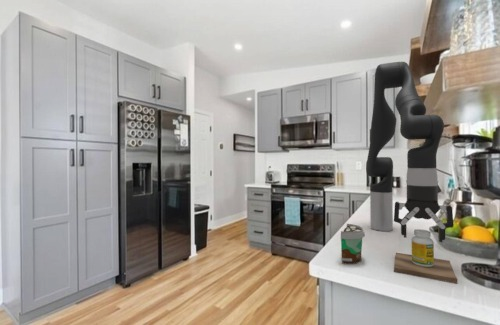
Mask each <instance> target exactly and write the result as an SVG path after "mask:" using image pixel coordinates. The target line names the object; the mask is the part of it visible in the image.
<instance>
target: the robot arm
mask: <svg viewBox="0 0 500 325" xmlns="http://www.w3.org/2000/svg"><path fill="white" fill-rule="evenodd" d="M373 82H374V90H373V92H374V93H373V107H372V109H373V110H372V115H371V116H372V117H371V124H370V125H371V126H370V137H369V138H370V139H369V148H368V154H367V160H366V166H365V167H366V168H365V170H366V175H367V176H369V177H372V178H383V179H382V180H381V181H379V182H377V183H373V184H371V185H370V186H369V194H370V195H369V200H370V202H369V204H370V207H369V208H370V213H369V215H370V228H371V230H375V231H380V232H391V231H393V230H394V228H393V227H394V224H393V223H394V222H395V223H398V224H400V234H401V236H403V238H407V223H408V222H409V221H411V219H413V218H415V219H419V220H420V219H424V220H430V219H432V220H433V221H434V223H435V224H436V225H437V226H438V242H439V243H443V241H445V240H446V229H450V228H451V229H452V228H454V215H453V214H454V212H453V207H452V206H451V205H450V204H446V205H442V204H441V205H440V204H439V201H438V200H439V198H438V197H439V192H438V190H439V188H438V187H439V179H438V178H439V176H438V172H437V154H438V148H439V145H440V141H441V139H442V136H443V133H444V130H445V123H444V122H445V121H444V119H443V118H442V117H441V116H440V115H437V114H426V113H427V107H426V105H425V102H424V101H423V100H422V98H421V96H420V95H419V93H418V91H417V88H416V84H415V80H414V76H413V72H412V70H411V68H410V65H409V64H408V63H407V62H406V61H394V62H387V63H381V64H378V65H377V66H376V68H375V72H374V81H373ZM395 88H396V89H397V88H400V90H399V91H398V93H396V94H397V95H396V97H395V99H394V105H395V108H396V110H397V112H398V114H399V118H400V125H399V126H400V127H399V130H400V131H399V133H400V135H401V136H402V137H403V139H406V140H411V141H413V140H415V141H416V140H424V143H423V144H422V145H421V146H417V147H412V148H409V149H408V151H407V154H406V155H407V156H406V157H407V167H406V168H407V170H406V179H405V182H406V202H400V201H395V202H393V184H394V183H393V180H394V179H393V177H394V161H393V159H392V158H391V157H389V156H379V157H378V155H379V154H380V152H381V150H382V149H383V148H384V147H386V145H387V144H388V143H389V142H390V141H391V140H392V138H393V137H394V135H395V133H396V127H397V126H396V125H397V117H396V114H395V112H394V111H393V110H392V108H391V106H390V105H389V103H388V101H387V99H386V95H385V90H386V89H395ZM393 203H394V207H393ZM393 208H394V210H393ZM403 208H405V209H406V210H407V211H408V212H407V213H406V214H405V215H404V217H403V218H400V211H402V210H403ZM440 210H442V212H443V213H444V214H445V217H446V222H443V221H442V220H441V219H440V218H439V217H438V215H436V214H438V212H439V211H440Z"/></svg>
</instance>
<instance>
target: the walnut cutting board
mask: <svg viewBox="0 0 500 325" xmlns="http://www.w3.org/2000/svg"><path fill="white" fill-rule="evenodd" d="M393 272H394V273H399V274H405V275H410V276H416V277H421V278H425V279H431V280H435V281H440V282H447V283H452V284H458V277H457V275H456V273H455V271H454V268H453V266H452V264H451V261H450V260H447V259H441V258H440V259H439V258H435V257H434V265H433V266H432V267H423V266H418V265H416V264H414V263H413V262H412V254H408V253H401V252H395V256H394V264H393Z"/></svg>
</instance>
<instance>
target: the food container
mask: <svg viewBox="0 0 500 325" xmlns="http://www.w3.org/2000/svg"><path fill="white" fill-rule="evenodd" d="M365 236H366V235H365V229H363V227H362V226H359V225H357V224H352V223H346V228H344V229H343V231H340V245H341V248H340V249H341V251H340V252H341V264H345V263H346V264H348V265H351V264H353V265H354V264H359V263H361V261H362V251H363V238H364V237H365Z"/></svg>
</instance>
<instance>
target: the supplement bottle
mask: <svg viewBox="0 0 500 325" xmlns="http://www.w3.org/2000/svg"><path fill="white" fill-rule="evenodd" d="M413 234H414V236H412V237H411V255H412V262H413V263H414V264H416V265H418V266H423V267H432V266H433V265H434V258H435V257H434V256H435V254H434V253H435V251H434V250H435V249H434V248H435V246H434V244H435V242H434V240H433V239H432V238H431V237H432V235H431V231H430V230H426V229H419V228H417V229H414V230H413Z"/></svg>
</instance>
